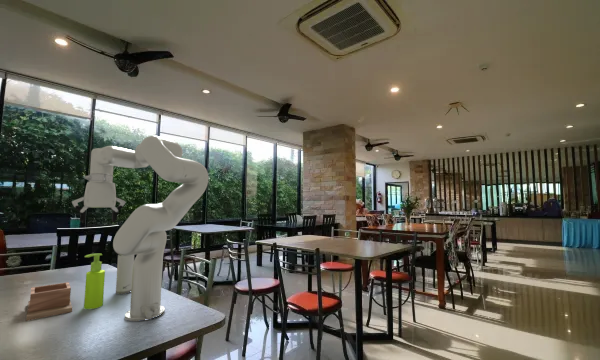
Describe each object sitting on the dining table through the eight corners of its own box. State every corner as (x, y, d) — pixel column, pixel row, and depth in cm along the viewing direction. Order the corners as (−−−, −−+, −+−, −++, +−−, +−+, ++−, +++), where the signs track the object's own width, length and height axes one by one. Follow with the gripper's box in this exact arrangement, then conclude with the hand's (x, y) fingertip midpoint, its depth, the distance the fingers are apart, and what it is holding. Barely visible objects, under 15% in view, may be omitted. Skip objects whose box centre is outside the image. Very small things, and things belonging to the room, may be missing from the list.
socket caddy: (72, 311, 102) (73, 290, 102) (26, 320, 93) (28, 297, 94) (68, 297, 116) (69, 279, 117) (28, 304, 108) (29, 285, 109)
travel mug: (127, 294, 121) (129, 248, 122) (112, 294, 121) (115, 247, 123) (136, 290, 127) (138, 245, 129) (121, 290, 127) (124, 245, 129)
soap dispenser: (77, 308, 105) (81, 254, 106) (97, 302, 111) (101, 251, 112) (85, 311, 102) (89, 255, 104) (106, 305, 108) (109, 253, 110)
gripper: (74, 177, 103) (71, 224, 101) (128, 180, 114) (126, 221, 113) (73, 178, 108) (70, 223, 107) (124, 181, 120) (122, 221, 118)
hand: (98, 222), depth 110 cm, fingers open, 9 cm apart
